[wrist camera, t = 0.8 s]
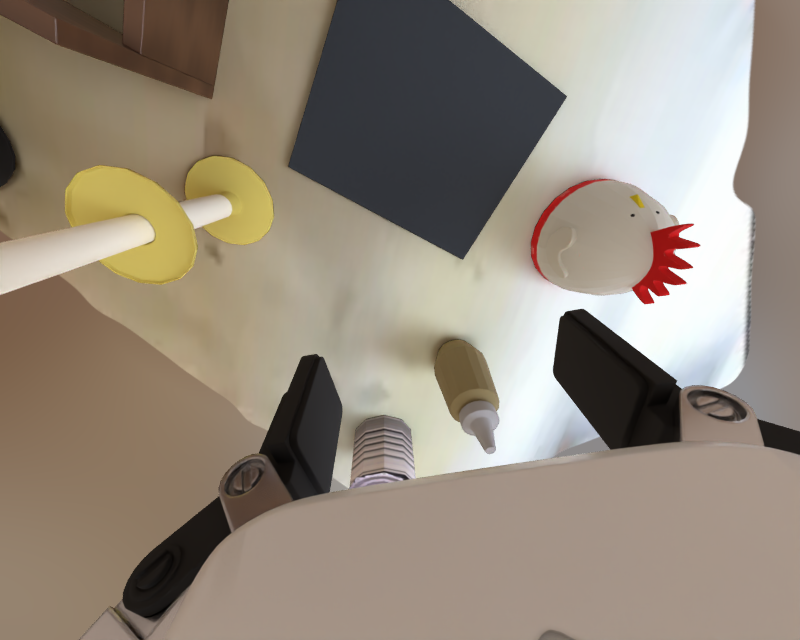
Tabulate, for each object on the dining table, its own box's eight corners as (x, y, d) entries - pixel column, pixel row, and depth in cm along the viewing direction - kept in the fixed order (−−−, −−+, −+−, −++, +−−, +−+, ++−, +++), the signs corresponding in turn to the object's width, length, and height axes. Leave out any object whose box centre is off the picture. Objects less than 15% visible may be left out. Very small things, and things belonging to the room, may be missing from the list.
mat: (359, -69, 24) (359, -74, 24) (564, 97, 31) (567, 96, 30) (289, 166, 33) (287, 166, 32) (461, 258, 39) (462, 259, 38)
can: (399, 458, 60) (402, 521, 49) (346, 447, 57) (338, 511, 47) (420, 422, 55) (429, 484, 44) (364, 409, 52) (360, 471, 42)
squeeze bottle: (420, 352, 47) (439, 450, 31) (460, 323, 44) (502, 413, 28) (449, 379, 50) (480, 481, 34) (488, 354, 47) (540, 450, 32)
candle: (170, 159, 32) (-1590, 150, 3) (259, 151, 32) (-741, 84, 4) (206, 247, 37) (-393, 544, 8) (283, 241, 37) (-50, 513, 8)
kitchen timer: (650, 173, 35) (810, 181, 22) (619, 278, 42) (727, 332, 29) (537, 186, 35) (629, 202, 22) (525, 289, 42) (589, 347, 29)
